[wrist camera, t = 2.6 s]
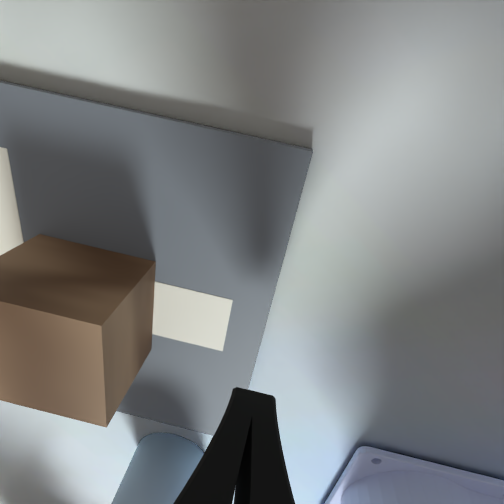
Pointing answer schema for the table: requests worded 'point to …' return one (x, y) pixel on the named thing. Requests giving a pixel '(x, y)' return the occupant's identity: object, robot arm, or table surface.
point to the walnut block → (73, 326)
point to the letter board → (160, 230)
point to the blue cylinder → (158, 470)
